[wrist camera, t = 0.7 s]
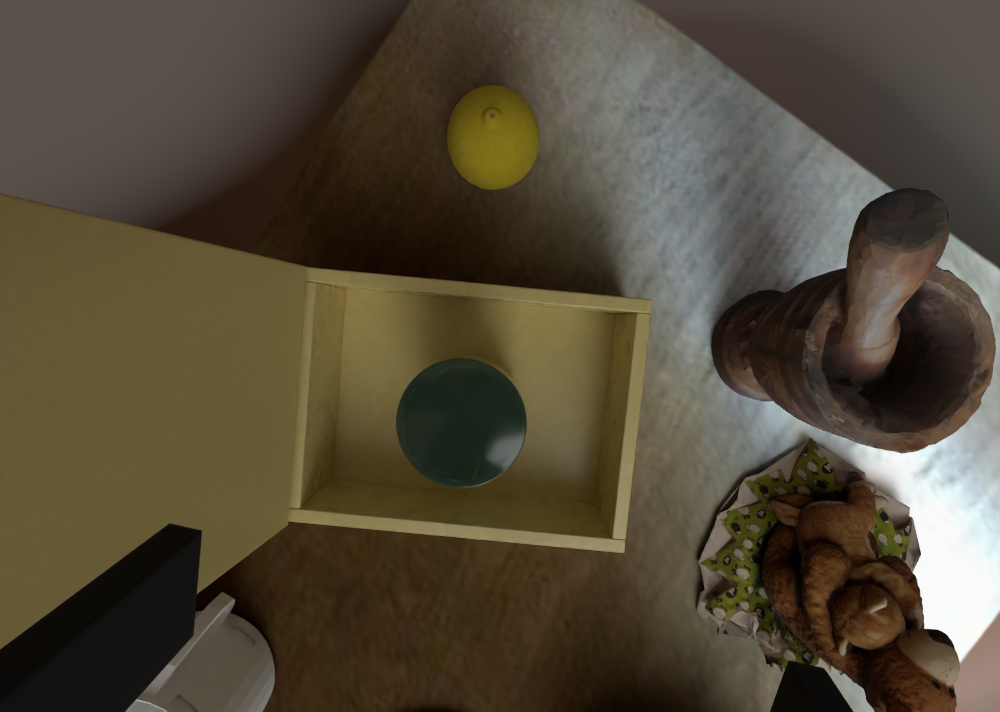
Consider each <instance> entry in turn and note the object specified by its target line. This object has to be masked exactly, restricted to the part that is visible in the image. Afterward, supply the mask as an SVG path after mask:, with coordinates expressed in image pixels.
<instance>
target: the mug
mask: <svg viewBox="0 0 1000 712" xmlns="http://www.w3.org/2000/svg"><path fill="white" fill-rule="evenodd" d="M234 603H235V599H234V598H232V597H230V596H229V595H227V594H225V593H223V592H222V593H221V594H219V595H218V596H217V597H216V598H215V599H214V600H213V601H212V602H211V603H210V604H209V605H208V606H207V607H206V608H205V609H204V610H203V611H197V612H195V624H194V636H193V637H192V638H191V639H190V640H189V641H188V642H187V643H186V645H185V646H184V647H183V648H182V649H181V650H180V651H179V652H178V653H177V655H176V656H175V657H174V658H173V659H172V660H171V661H170V662H169V664H168V665H167V666H166V667H165V668H164V669H163V670H162V671H161V672H160V674H159V675H158V676H157V677H156V678H155V679H154V680H153V681H152V683H151V684H150V685H149V686H148V687H147V688H146V689H145V690H144V691H143V693H142V694H141V695H140V696H139V697H138V698H137V699H136V700H135V702H134V703H133V704H132V705H131V706H130V707H129V708H128V709H127V710H126V712H262V711H263V709H264V708H265V706H266V704H267V702H268V700H269V698H270V696H271V694H272V690H273V686H274V682H275V667H274V662H273V656H272V653H271V650H270V648H269V645H268V643H267V642H266V640H265V639H264V637H263V635H262V634H261V633H260V632H259V631H258V630H257V629H256V628H255V627H254V626H253V625H252V624H250V623H249V622H248V621H246V620H245V619H243V618H241V617H239V616H237V615H235V614H232V613H230V612H231V610H232V608H233V606H234Z"/></svg>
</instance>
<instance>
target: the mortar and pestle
mask: <svg viewBox="0 0 1000 712" xmlns="http://www.w3.org/2000/svg"><path fill="white" fill-rule="evenodd" d="M948 218H949V214H948V211H947V207H946V204H945V203H944V201H943V200H942V199H940V198H939V197H937V196H936V195H935V194H933V193H931V192H930V191H927V190H919V189H914V188H906V189H899V190H896V191H892V192H889V193H886V194H884V195H882V196H881V197H879V198H877V199H875V200H873V201H871V202H870V203H869V204H868V205H867V206H866V207H865V208H863V209H862V210H861V212H860V214H859V216H858V218H857V220H856V223H855V226H854V229H853V234H852V237H851V240H850V243H849V250H848V257H847V267H846V268H843V269H839V270H835V271H831V272H828V273H825V274H823V275H820V276H817V277H814V278H811V279H808V280H806V281H804V282H802V283H801V284H799V285H797V286H796V287H794V288H792V289H791V290H789V291H787V292H785V293H782V292H779V291H776V290H765V291H758V292H755V293H752V294H749V295H747V296H746V297H744V298H742V299H741V300H740V301H738V302H737V303H735V304H734V305H733V306H731V307H730V308H729V309H728V310H727V311H726V312H725V313H724V314H723V316H722V317H721V319H720V320H719V321H718V323H717V325H716V327H715V329H714V333H713V339H712V353H713V358H714V363H715V367H716V369H717V372H718V374H719V376H720V378H721V379H722V380H723V381H724V383H725V384H726V385H728V386H729V387H730V388H731V389H732V390H734V391H735V392H737V393H738V394H740V395H743V396H746V397H749V398H752V399H756V400H760V401H774V402H775V403H776V404H777V405H779V406H780V407H781V408H783V409H784V410H785V411H787V412H788V413H789V414H791V415H793V416H794V417H795V418H797V419H799V420H801V421H803V422H805V423H807V424H809V425H812V426H814V427H816V428H819V429H821V430H823V431H827V432H831V433H832V434H835V435H838V436H841V437H844V438H847V439H849V440H852V441H854V442H857V443H859V444H863V445H866V446H870V447H874V448H879V449H883V450H888V451H895V452H898V453H908V452H914V451H919V450H921V449H924V448H925V447H927V446H928V445H932V444H936V443H938V442H939V441H941V440H943V439H944V438H946V437H948V436H950V435H951V434H953V433H954V432H956V431H957V430H958V429H959V428H960V427H962V426H963V425H964V424H965V423H966V422H967V421H968V420H969V418H970V417H971V416H972V415H973V414H974V413H975V412H976V410H977V409H978V408H979V406H980V405H981V398H982V396H983V394H984V392H985V391H986V389H987V387H988V386H989V385H990V382H991V378H992V372H993V363H994V358H995V351H996V346H995V337H994V332H993V328H992V323H991V319H990V316H989V314H988V313H987V311H986V310H985V308H984V307H983V305H982V303H981V301H980V298H979V296H978V294H977V293H976V292H975V291H974V290H973V289H972V288H971V287H970V286H969V285H968V284H967V283H965V282H964V281H962V280H960V279H959V278H957V277H956V276H955V275H954V274H953V273H952V272H950V271H949V270H942V269H941V268H939V267H937V266H936V264H937V263H938V261H939V260H940V258H941V256H942V254H943V252H944V249H945V247H946V244H947V241H948V237H949V232H950V230H949V224H948Z"/></svg>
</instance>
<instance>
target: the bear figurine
mask: <svg viewBox="0 0 1000 712" xmlns="http://www.w3.org/2000/svg"><path fill="white" fill-rule="evenodd" d="M739 487H740V488H739ZM739 487H738V488H739V492H738V499H737V500H736V501H735V503H734V504H733V505H732V506H731V507H730V508H729V509H727V510H726V511H723V512H720V511H721V509H722V508H723V507H724V506H725V504H726V503H727V502H728V501H729V499H730V498H731V497H732V496H733V494H734V493H735V492H736V491H737V489H738V488H737V489H736V490H735V492H734V493H733V494H732V495H731V497H730V498H729V499H728V500H727V502H726V503H725V504H724V505H723V506H722V508H721V509H720V510H719V512H720V513H719V514H718V515H717V519H716V522H715V526H714V528H713V530H712V533H711V535H710V537H709V539H708V541H707V544H706V546H705V548H704V550H703V553H702V555H701V557H700V559H699V562H698V564H699V566H700V568H701V573H702V578H703V583H704V588H705V590H704V591H702V592H701V593H700V596H699V602H698V608H697V612H698V613H699V614H700V616H701V620H703V619H706V618H708V617H710V618H711V619H712V620H713V621H714V622H716V623H717V624H718V629H717V635H718V634H719V633H723V634H728V635H734V636H739V637H745V638H751V639H754V638H753V637H752V635H754V637H755V639H756V640H757V641H758V642H759V643H760V644H761V645H760V644H759V645H760V647H761V649H762V651H763V652H764V655H765V658H766V663H767V664H770V667H772V666H773V669H774V666H775V667H776V668H777V669H778V670H780V671H782V672H783V668H784V669H786V666H787V663H788V660H790V661H795V662H799V663H804V664H808V665H813V666H817V667H822V668H824V669H825V670H826V671H829V672H831V666H833V667H834V668H835V669H837V670H838V671H839V673H840V675H842V674H843V673H844V674H846V675H847V676H848V677H849V678H850V679H851V680H852V681H853V682H854V683H857V684H858V685H859V686H861V687H862V688H863V689H864V691H865V695H866V700H867V702H868V703H869V704H870V706H871V707H872V708H873V709H874V711H875V712H955V708H956V706H957V704H956V695H955V693H954V686H953V685H954V682H955V681H956V679H957V677H958V673H959V668H960V663H959V659H958V656H957V653H956V651H955V649H954V645H953V643H952V641H951V640H950V639H949V637H948V636H947V635H946V634H945V633H943V632H941V631H939V630H935V629H924V615H923V606H922V598H921V597H920V589H919V587H918V584H917V579H916V576H915V575H914V574H913V573H912V572H913V570H914V568H915V566H916V564H917V562H918V560H919V557H920V555H921V552H920V548H919V543H918V539H917V535H916V530H915V526H914V521H913V518H912V517H909V511H910V507H908V506H906V505H905V504H903V503H901V502H899V501H897V500H896V499H894V498H892V497H890V496H888V495H886V494H885V493H883V492H881V491H880V490H878V489H876V488H875V486H874V485H873V484H872V483H870V482H867V480H866V478H865V473H864V472H863V471H861V470H859V469H858V468H856V467H854V466H853V465H851V464H849V463H848V462H846V461H844V460H843V459H841V458H839V457H838V456H836V455H834V454H832V453H831V452H829V451H827V450H826V449H824V448H822V447H821V446H819V445H817V444H816V442H815V441H813V439H811V438H809V439H808V441H806V442H805V443H804V444H802V445H801V446H799V447H798V448H796V449H795V450H793V451H792V452H790V453H789V454H788V455H786V456H785V457H783V458H782V459H780V460H779V461H777V462H776V463H774V464H773V465H771V466H770V467H768V468H767V469H765V470H764V471H763V472H761V473H760V474H756V475H752V476H748V477H746V478H745V479H744V480H743V482H742V483H741V484H740V485H739ZM729 620H731V621H733V622H735V623H737V624H739V625H741V626H743V627H745V628H747V629H748V630H749V633H748V634H747V633H746V632H744V631H743V630H742V629H740V628H739V627H737V626H736V625H735V624H733V623H732V622H731V621H729Z"/></svg>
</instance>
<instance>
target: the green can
mask: <svg viewBox="0 0 1000 712" xmlns="http://www.w3.org/2000/svg"><path fill="white" fill-rule="evenodd" d="M396 430H397V436H398V440H399V444H400V446H401V449H402V451H403V453H404V455H405V456H406V458H407V459H408V461H409V462H410V463H411V465H412V466H413V467H414V468H415V469H416V470H417V471H418V472H419V473H421V474H422V475H423V476H425V477H426V478H428V479H430V480H431V481H433V482H436V483H438V484H441V485H444V486H448V487H454V488H469V487H475V486H480V485H483V484H485V483H488V482H490V481H492V480H494V479H496V478H497V477H499V476H500V475H502V474H503V473H504V472H505V471H506V470H507V469H508V468H510V466H511V465H512V464H513V463H514V461H515V460H516V458H517V457H518V455H519V453H520V451H521V449H522V447H523V444H524V441H525V437H526V431H527V417H526V410H525V406H524V402H523V400H522V397H521V395H520V393H519V391H518V389H517V388H516V386H515V384H514V381H513V379H512V377H511V375H510V373H509V372H508V371H507V369H506V368H505V367H504V366H503V365H502V364H501V363H499V362H498V361H497V360H495V359H493V358H491V357H489V356H486V355H483V354H478V353H466V354H461V355H458V356H455V357H453V358H451V359H447V360H443V361H440V362H437V363H435V364H433V365H431V366H429V367H427V368H426V369H424V370H423V371H422V372H420V373H419V374H418V375H417V376H416V377H415V378H414V379H413V380H412V381H411V382H410V383H409V385H408V386H407V388H406V389H405V391H404V393H403V395H402V397H401V399H400V402H399V405H398V409H397V415H396Z"/></svg>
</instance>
